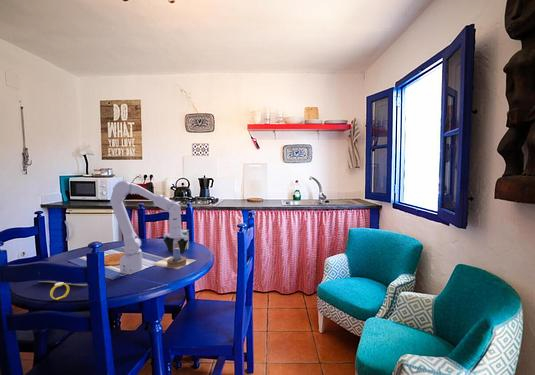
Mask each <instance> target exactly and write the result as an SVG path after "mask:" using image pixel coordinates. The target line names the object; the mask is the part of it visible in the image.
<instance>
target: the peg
mask: <svg viewBox="0 0 535 375" xmlns="http://www.w3.org/2000/svg"><path fill="white" fill-rule="evenodd" d="M172 252H173V254H172V255H173V256H172V257H174V261H178V260H180V256H181V254H180V249H179V248H174V249H173V251H172Z"/></svg>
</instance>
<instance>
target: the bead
mask: <svg viewBox="0 0 535 375" xmlns="http://www.w3.org/2000/svg"><path fill="white" fill-rule="evenodd" d="M186 259H187V257H186V256H182V255H180V260H178V261H174V257H173V256H172V258H170V259H168V260H167V266H168V267H180V266H183V265H185V264H186ZM185 266H186V265H185ZM183 267H184V266H183Z"/></svg>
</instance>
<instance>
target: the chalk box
mask: <svg viewBox="0 0 535 375" xmlns="http://www.w3.org/2000/svg"><path fill="white" fill-rule="evenodd" d="M182 228H183V225H182V224H181V233H182V234H183V235H186V236H188V242H187V244H186V247H185V250H184V251H187V250H189V247H190V241H189V240H190V234H189V231H190V229H182ZM179 240H180V239H174V241H173V249H174V248H179V244H178V242H177V241H179Z"/></svg>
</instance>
